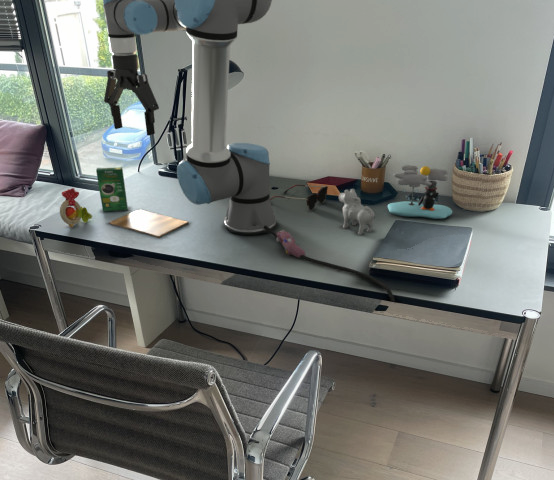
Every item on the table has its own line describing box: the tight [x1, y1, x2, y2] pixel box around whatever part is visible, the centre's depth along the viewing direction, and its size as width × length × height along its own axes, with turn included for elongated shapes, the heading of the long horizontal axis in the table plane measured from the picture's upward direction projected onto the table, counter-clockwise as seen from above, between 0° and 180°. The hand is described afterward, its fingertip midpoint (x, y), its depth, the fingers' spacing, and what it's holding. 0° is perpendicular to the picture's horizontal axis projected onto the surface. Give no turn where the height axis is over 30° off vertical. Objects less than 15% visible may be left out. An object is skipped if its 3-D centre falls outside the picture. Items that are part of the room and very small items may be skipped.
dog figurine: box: [338, 188, 375, 236], centre depth 164 cm, size 5×13×11 cm, turn 38°
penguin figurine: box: [387, 164, 453, 220], centre depth 171 cm, size 20×11×15 cm, turn 72°
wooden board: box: [109, 208, 189, 238], centre depth 170 cm, size 20×13×1 cm, turn 57°
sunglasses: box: [270, 184, 329, 211], centre depth 184 cm, size 14×16×5 cm
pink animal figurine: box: [275, 229, 306, 259], centre depth 151 cm, size 10×5×7 cm, turn 17°
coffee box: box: [95, 166, 129, 212], centre depth 176 cm, size 8×3×13 cm, turn 101°
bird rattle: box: [59, 187, 93, 228], centre depth 167 cm, size 6×11×9 cm
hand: (134, 131), depth 175 cm, fingers open, 13 cm apart
